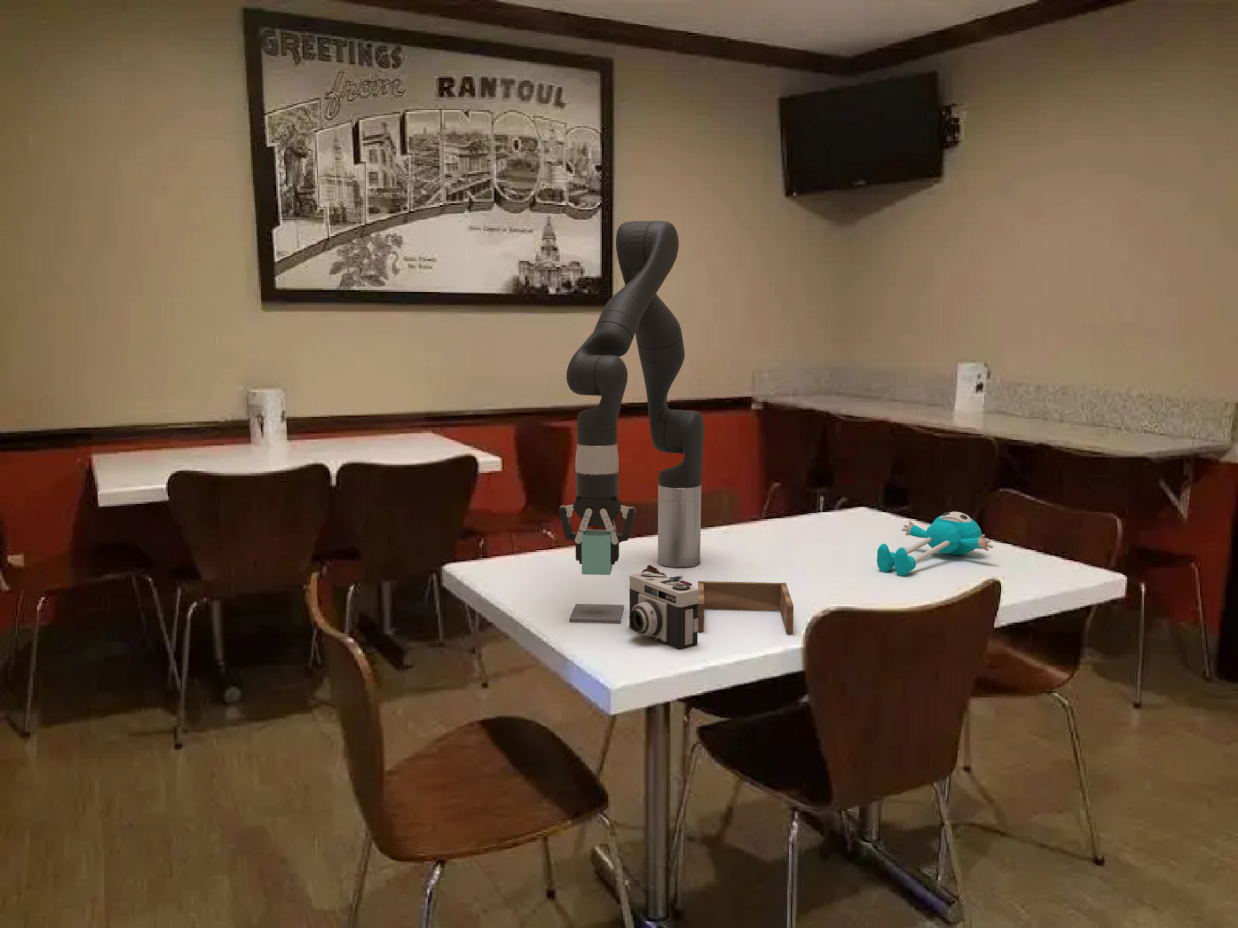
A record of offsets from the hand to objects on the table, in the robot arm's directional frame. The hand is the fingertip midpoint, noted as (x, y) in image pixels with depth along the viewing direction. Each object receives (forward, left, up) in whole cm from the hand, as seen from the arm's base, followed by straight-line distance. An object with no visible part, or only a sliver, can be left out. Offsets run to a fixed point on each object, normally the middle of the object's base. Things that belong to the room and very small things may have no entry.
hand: (597, 562), depth 173 cm
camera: (+11, +11, -10) cm, 19 cm away
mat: (0, 0, -10) cm, 10 cm away
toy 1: (-16, +13, -10) cm, 23 cm away
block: (0, 0, -1) cm, 1 cm away
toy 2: (-43, +68, -10) cm, 81 cm away
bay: (+1, +26, -10) cm, 28 cm away
